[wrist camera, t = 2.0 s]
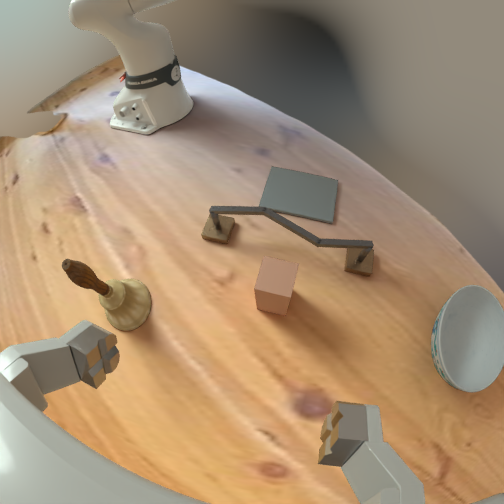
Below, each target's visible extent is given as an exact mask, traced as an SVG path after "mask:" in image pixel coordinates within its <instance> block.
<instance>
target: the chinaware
mask: <svg viewBox="0 0 504 504" xmlns="http://www.w3.org/2000/svg"><path fill="white" fill-rule="evenodd" d="M431 353H432V358H433V362H434V365H435V367H436V369H437V371H438V373H439V374H440V376H441V377H442V378H443V379H444V380H445V381H446V382H447V383H448V384H449V385H451V386H453V387H454V388H456V389H459V390H461V391H465V392H478V391H481V390H483V389H485V388H487V387H488V386H489V385H491V384H492V383H493V382H494V381H495V379H496V378H497V377H498V375H499V374H500V372H501V370H502V368H503V365H504V311H503V309H502V306H501V305H500V303H499V301H498V300H497V298H496V297H495V296H494V295H493V294H492V293H491V292H490V291H489V290H487V289H485V288H484V287H481V286H478V285H468V286H465V287H462V288H460V289H459V290H457V291H456V292H455V293H454V294H453V295H452V296H451V297H450V298H449V299H448V300H447V302H446V303H445V304H444V306H443V307H442V309H441V311H440V312H439V314H438V316H437V318H436V321H435V324H434V327H433V331H432V336H431Z"/></svg>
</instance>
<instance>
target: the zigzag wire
mask: <svg viewBox="0 0 504 504" xmlns="http://www.w3.org/2000/svg"><path fill="white" fill-rule="evenodd" d="M209 211H210V215H209V217H208V220H207V222H206V225H205V227H204V229H203V232H202V234H201V235H202V238H203V239H207V240H211V241H216V242H220V243H224V244H227V243H228V240H229V238H230V235H231V232H232V229H233V226H234V223H235V220H234V218H231V217H226V216H221V215H218V214H238V215H264V216H266V217H268V218H270V219H271V220H273V221H275V222H276V223H278V224H280V225H282V226H283V227H285V228H287V229H288V230H290V231H292V232H293V233H295V234H297V235H298V236H300V237H302V238H304V239H305V240H307V241H309V242H310V243H312V244H313V245H315V246H317V247H333V248H347V256H346V263H345V270H344V271H347V272H351V273H355V274H360V275H364V276H368V277H369V276H370V275H371V274H372V267H373V256H374V250H373V249H372V248H373V243H372V241H364V240H341V239H320V238H318V237H316V236H315V235H313V234H311V233H310V232H308V231H306V230H305V229H303V228H301V227H299V226H298V225H296V224H294V223H293V222H291V221H289V220H287V219H286V218H284V217H282V216H280V215H279V214H277V213H275V212H273V211H272V210H270V209H268V208H266V207H242V206H211V208H210V210H209Z"/></svg>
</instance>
